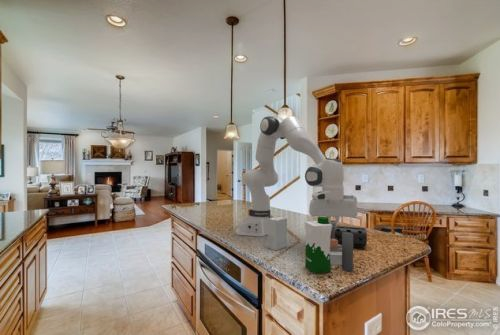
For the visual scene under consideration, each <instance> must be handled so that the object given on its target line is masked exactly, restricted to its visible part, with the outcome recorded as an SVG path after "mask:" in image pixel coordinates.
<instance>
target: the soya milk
mask: <svg viewBox="0 0 500 335" xmlns="http://www.w3.org/2000/svg"><path fill="white" fill-rule="evenodd" d="M304 228H305V229H304V230H305V257H304V258H305V260H304V261H305V262H304V264H305V268H307V269H308V270H309V271H310V272H311V273H313V274H323V273H324V274H325V273H331V272H332V268H331V265H330V235H331V230H332V225H331V224H329V223H328V218H327V217H324V216H317V220H310V221H304Z"/></svg>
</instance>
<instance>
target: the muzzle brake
mask: <svg viewBox="0 0 500 335" xmlns="http://www.w3.org/2000/svg"><path fill="white" fill-rule="evenodd" d="M343 232H349V233H353V248H364V249H365V247H366V246H367V242H368V238H367V234H368V233H367V230H366V228H365V227H355V226H354V227H353V226H346V225H345V226H343V225H342V226H341V225H337V227H335V239H336V240H338V245H342V233H343Z"/></svg>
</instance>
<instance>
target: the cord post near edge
mask: <svg viewBox="0 0 500 335" xmlns="http://www.w3.org/2000/svg"><path fill="white" fill-rule="evenodd" d="M341 269H342V271H344V272H348V273H350V272H353V271H354V247H353V233H349V232H343V233H342V265H341Z"/></svg>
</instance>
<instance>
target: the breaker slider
mask: <svg viewBox="0 0 500 335" xmlns="http://www.w3.org/2000/svg"><path fill="white" fill-rule="evenodd" d="M338 245H339V244H338V240H336V239H330V248H335V249H338Z"/></svg>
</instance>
